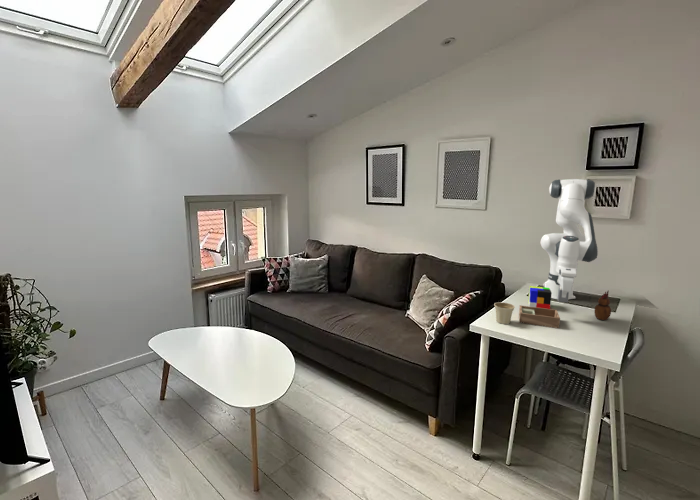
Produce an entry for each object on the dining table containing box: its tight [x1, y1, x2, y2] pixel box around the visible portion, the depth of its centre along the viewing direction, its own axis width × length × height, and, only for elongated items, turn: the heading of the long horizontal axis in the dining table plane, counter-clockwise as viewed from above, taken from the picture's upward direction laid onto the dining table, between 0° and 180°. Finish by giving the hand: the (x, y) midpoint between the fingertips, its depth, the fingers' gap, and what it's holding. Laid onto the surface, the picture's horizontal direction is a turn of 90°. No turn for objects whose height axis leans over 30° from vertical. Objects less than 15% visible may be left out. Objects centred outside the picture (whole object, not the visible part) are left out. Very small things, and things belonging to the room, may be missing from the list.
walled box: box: [518, 304, 561, 329], centre depth 180 cm, size 13×17×5 cm
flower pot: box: [493, 301, 516, 325], centre depth 178 cm, size 9×9×9 cm
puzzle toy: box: [527, 285, 552, 309], centre depth 202 cm, size 10×10×10 cm
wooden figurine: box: [593, 290, 612, 321], centre depth 182 cm, size 7×6×15 cm
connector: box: [557, 286, 569, 303], centre depth 181 cm, size 4×4×7 cm
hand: (562, 295), depth 182 cm, fingers closed on connector, 4 cm apart
